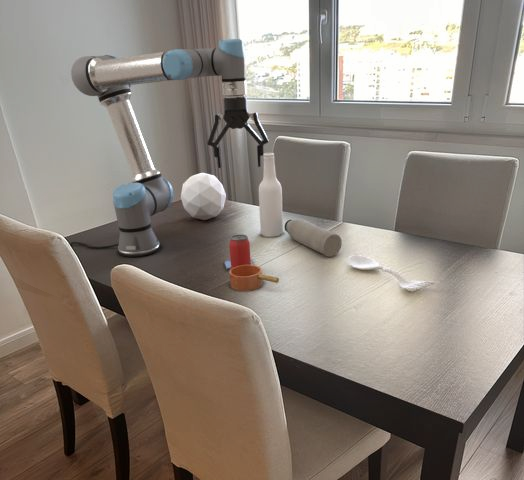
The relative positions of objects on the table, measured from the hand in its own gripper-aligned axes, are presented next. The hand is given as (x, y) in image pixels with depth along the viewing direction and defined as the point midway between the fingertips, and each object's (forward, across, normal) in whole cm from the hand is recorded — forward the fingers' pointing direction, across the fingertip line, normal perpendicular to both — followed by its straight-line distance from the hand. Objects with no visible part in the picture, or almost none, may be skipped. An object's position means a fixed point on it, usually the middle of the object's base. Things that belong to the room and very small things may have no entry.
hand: (239, 166), depth 166 cm
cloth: (+29, 0, -17) cm, 34 cm away
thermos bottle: (+25, +32, -10) cm, 42 cm away
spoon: (+29, +48, -29) cm, 63 cm away
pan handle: (+26, +12, -37) cm, 47 cm away
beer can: (+29, +2, -24) cm, 38 cm away
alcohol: (+29, +8, +16) cm, 34 cm away
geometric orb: (+29, -23, +40) cm, 54 cm away
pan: (+29, +5, -33) cm, 44 cm away
